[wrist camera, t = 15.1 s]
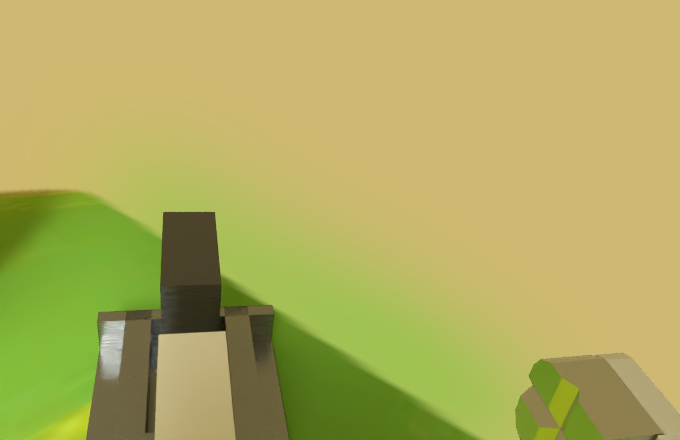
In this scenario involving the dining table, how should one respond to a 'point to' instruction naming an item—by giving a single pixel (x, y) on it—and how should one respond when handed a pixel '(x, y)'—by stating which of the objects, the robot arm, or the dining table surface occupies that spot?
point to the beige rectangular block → (193, 388)
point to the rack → (185, 317)
